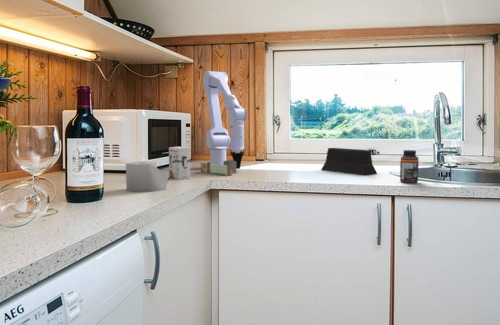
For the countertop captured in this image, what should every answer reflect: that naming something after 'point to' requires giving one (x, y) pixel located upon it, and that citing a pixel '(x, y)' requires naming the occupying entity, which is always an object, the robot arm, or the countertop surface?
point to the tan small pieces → (206, 168)
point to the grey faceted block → (232, 165)
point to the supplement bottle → (409, 167)
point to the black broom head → (349, 161)
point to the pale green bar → (218, 168)
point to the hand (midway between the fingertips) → (237, 168)
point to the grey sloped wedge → (145, 177)
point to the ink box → (179, 162)
